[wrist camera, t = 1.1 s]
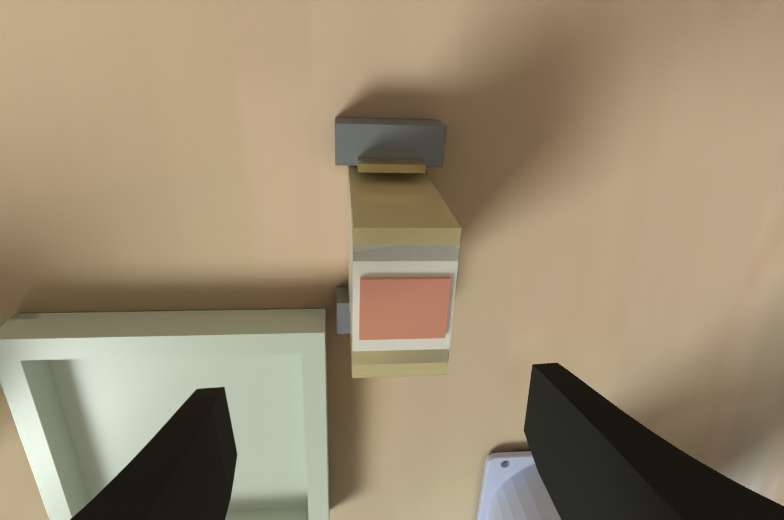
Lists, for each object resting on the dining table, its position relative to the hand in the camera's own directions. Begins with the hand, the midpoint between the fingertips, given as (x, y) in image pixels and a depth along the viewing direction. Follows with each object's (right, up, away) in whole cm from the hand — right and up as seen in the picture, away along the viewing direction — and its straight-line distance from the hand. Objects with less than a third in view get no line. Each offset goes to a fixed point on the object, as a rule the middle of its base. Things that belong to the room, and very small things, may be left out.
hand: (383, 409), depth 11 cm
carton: (0, +5, +9) cm, 10 cm away
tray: (-10, -5, +13) cm, 16 cm away
